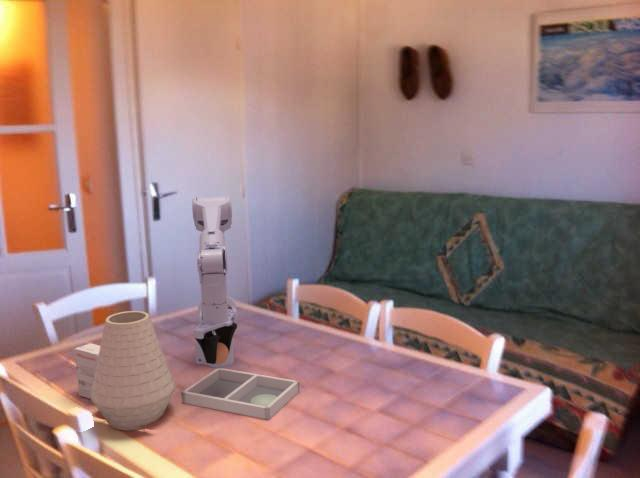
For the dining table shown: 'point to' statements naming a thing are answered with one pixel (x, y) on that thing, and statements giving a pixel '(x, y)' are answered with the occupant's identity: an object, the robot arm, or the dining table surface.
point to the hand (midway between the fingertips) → (217, 358)
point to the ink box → (86, 367)
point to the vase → (131, 373)
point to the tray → (240, 392)
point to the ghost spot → (263, 399)
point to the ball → (221, 353)
